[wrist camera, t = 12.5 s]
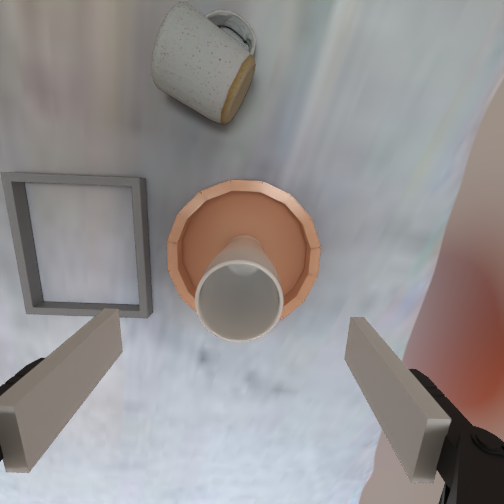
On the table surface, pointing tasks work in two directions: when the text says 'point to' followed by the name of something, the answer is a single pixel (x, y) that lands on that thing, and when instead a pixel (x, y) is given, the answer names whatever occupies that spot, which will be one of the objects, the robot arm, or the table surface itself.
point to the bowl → (245, 223)
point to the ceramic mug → (204, 61)
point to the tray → (27, 255)
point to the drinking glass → (240, 292)
